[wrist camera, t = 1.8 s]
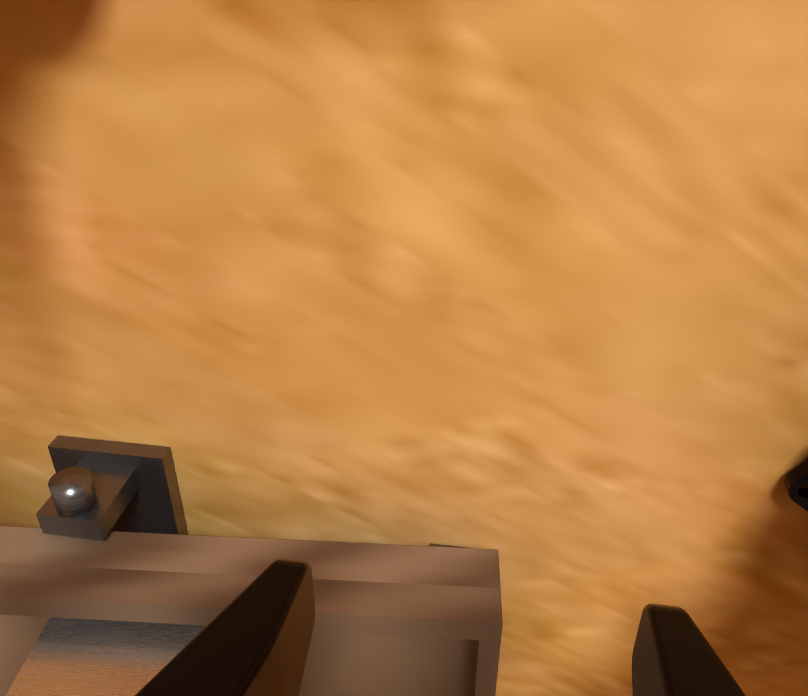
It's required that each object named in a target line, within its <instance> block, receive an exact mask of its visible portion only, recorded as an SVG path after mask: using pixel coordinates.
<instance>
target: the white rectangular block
mask: <svg viewBox="0 0 808 696" xmlns="http://www.w3.org/2000/svg"><path fill="white" fill-rule="evenodd" d="M205 627H206V626H203V625H184V624H166V623H147V622H129V621H110V620H92V619H73V618H55V617H50V618H49V620H48V622H47V624H46V625H45V627H44V629H43V631H42V632H41V634H40V636H39V638H38V639H37V641H36V643H35V645H34V646H33V648H32V650H31V652H30V653H29V655H28V657H27V659H26V660H25V662H24V664H23V666H22V668H21V669H20V671H19V673H18V675H17V676H16V678H15V680H14V682H13V683H12V685H11V687H10V689H9V690H8V692H7V694H6V696H135V695H136V694H137V693H138V692H139V691H140V690H141V689H142V688H143V687H144V686H145V685H146V684H147V683H148V682H149V681H150V680H151V679H152V678H153V677H154V676H155V675H156V674H157V673H158V672H159V671H160V670H161V669H163V668H164V667H165V666H166V665H167V664H168V663H169V662H170V661H171V660H172V659H173V658H174V657H175V656H176V655H177V654H178V653H179V652H180V651H181V650H182V649H183V648H184V647H185V646H186V645H187V644H188V643H189V642H190V641H192V640H193V639H194V638H195V637H196V636H197V635H198V634H199V633H200V632H201V631H202V630H203V629H204V628H205Z"/></svg>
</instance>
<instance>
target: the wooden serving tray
mask: <svg viewBox="0 0 808 696" xmlns="http://www.w3.org/2000/svg"><path fill="white" fill-rule="evenodd" d="M278 559H290V560H298V561H305V562H308V563H309V564H310V566H311V569H312V576H313V587H314V598H315V622H314V628H313V632H312V637H311V641H310V646H309V651H308V655H307V660H306V664H305V669H304V673H303V678H302V682H301V687H300V691H299V696H495V691H496V681H497V672H498V662H499V652H500V642H501V632H502V606H501V589H500V572H499V555H498V550H494V549H473V548H452V547H431V546H410V545H389V544H368V543H347V542H325V541H304V540H283V539H262V538H241V537H220V536H199V535H178V534H157V533H136V532H115V531H110V532H109V533H108V534H107V536H106V537H105V539H104V540H103V541H102V540H94V539H86V538H77V537H69V536H61V535H53V534H45V533H43V532H42V529H41V528H30V527H9V526H0V696H6V694H7V692H8V690H9V689H10V687H11V685H12V683H13V682H14V680H15V678H16V676H17V675H18V673H19V671H20V669H21V668H22V666H23V664H24V662H25V660H26V659H27V657H28V655H29V653H30V652H31V650H32V648H33V646H34V645H35V643H36V641H37V639H38V638H39V636H40V634H41V632H42V631H43V629H44V627H45V625H46V624H47V622H48V620H49V618H50V617H55V618H73V619H92V620H110V621H129V622H147V623H166V624H184V625H203V626H207V625H208V624H209V623H210V622H211V621H212V620H213V619H214V618H215V617H216V616H217V615H218V614H219V613H220V612H222V611H223V610H224V609H225V608H226V607H227V606H228V605H229V604H230V603H231V602H232V601H233V600H234V599H235V598H236V597H237V596H238V595H239V594H240V593H241V592H242V591H243V590H244V589H245V588H246V587H247V586H248V585H249V584H251V583H252V582H253V581H254V580H255V579H256V578H257V577H258V576H259V575H260V574H261V573H262V572H263V571H264V570H265V569H266V568H267V567H268V566H269V565H270V564H271V563H272V562H274V561H275V560H278Z"/></svg>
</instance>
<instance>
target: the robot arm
mask: <svg viewBox="0 0 808 696" xmlns="http://www.w3.org/2000/svg"><path fill="white" fill-rule="evenodd" d="M805 484H808V461H806V462H805V463H803V464H802V465H801V466H799V467H798V468H796V469H795V470H793V471H792V472H791V473H790V474H789V475H788V476H787V477H786V479H785V487H786V490H787V492H788V495H789V497H790V498H791V499H792V500H793V501H794V502H795V503H797V504H798V505H800V506H801V507H802V508H804V509H805V510H806V511H808V487H807V488H800V487H801V486H802V485H805ZM314 622H315V598H314V587H313V576H312V569H311V566H310V564H309V563H308V562H305V561H298V560H290V559H278V560H275V561H274V562H272V563H271V564H270V565H269V566H268V567H267V568H266V569H265V570H264V571H263V572H262V573H261V574H260V575H259V576H258V577H257V578H256V579H255V580H254V581H253V582H252V583H251V584H249V585H248V586H247V587H246V588H245V589H244V590H243V591H242V592H241V593H240V594H239V595H238V596H237V597H236V598H235V599H234V600H233V601H232V602H231V603H230V604H229V605H228V606H227V607H226V608H225V609H224V610H223V611H222V612H220V613H219V614H218V615H217V616H216V617H215V618H214V619H213V620H212V621H211V622H210V623H209V624H208V625H207V626H206V627H205V628H204V629H203V630H202V631H201V632H200V633H199V634H198V635H197V636H196V637H195V638H194V639H193V640H192V641H190V642H189V643H188V644H187V645H186V646H185V647H184V648H183V649H182V650H181V651H180V652H179V653H178V654H177V655H176V656H175V657H174V658H173V659H172V660H171V661H170V662H169V663H168V664H167V665H166V666H165V667H164V668H163V669H161V670H160V671H159V672H158V673H157V674H156V675H155V676H154V677H153V678H152V679H151V680H150V681H149V682H148V683H147V684H146V685H145V686H144V687H143V688H142V689H141V690H140V691H139V692H138V693H137V694H136V695H135V696H299V691H300V687H301V682H302V678H303V673H304V669H305V664H306V660H307V655H308V651H309V646H310V641H311V637H312V632H313V628H314ZM632 683H633V696H745V694H744V693H743V691H742V690H741V689H740V687H739V686H738V684H737V683H736V681H735V680H734V679H733V677H732V676H731V674H730V673H729V671H728V670H727V669H726V667H725V666H724V664H723V663H722V662H721V660H720V659H719V657H718V656H717V654H716V653H715V652H714V650H713V649H712V647H711V646H710V644H709V643H708V642H707V640H706V639H705V637H704V636H703V634H702V633H701V632H700V630H699V629H698V627H697V626H696V625H695V623H694V622H693V620H692V619H691V617H690V616H689V615H688V613H687V612H686V611H685V610H683V609H682V608H680V607H675V606H667V605H659V604H648V605H646V606H645V608H644V609H643V612H642V616H641V620H640V624H639V628H638V632H637V637H636V641H635V645H634V649H633V656H632Z"/></svg>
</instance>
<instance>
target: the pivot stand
mask: <svg viewBox="0 0 808 696" xmlns="http://www.w3.org/2000/svg"><path fill="white" fill-rule="evenodd" d="M48 449H49V452H50V455H51V458H52V462H53V465H54V468H55V471H56V473H55V474H54V475H53V476H52V477H51V478H50V480H49V483H48V486H49V489H50V492H51V497H50V498H49V499H48V500H47V502H46V503H45V504H44V505H43V506H42V508H41V509H40V510H39V511H38V513H37V514H36V515H37V518H38V521H39V523H40V526H41V529H42V532H43V533H45V534H53V535H61V536H69V537H77V538H86V539H94V540H102V541H103V540H104V539H105V537H106V536H107V534H108V533H109V532H110V531H115V532H136V533H157V534H178V535H188V532H187V528H186V523H185V518H184V513H183V508H182V503H181V498H180V493H179V489H178V484H177V479H176V474H175V469H174V464H173V459H172V454H171V449H170V447H163V446H153V445H143V444H134V443H124V442H115V441H105V440H95V439H86V438H76V437H67V436H57V437H56V438H55V439H54V440H53V441H52V443H51V444H50V445H49V446H48ZM430 546H431V547H452V548H465V547H456V546H448V545H439V544H430Z"/></svg>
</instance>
